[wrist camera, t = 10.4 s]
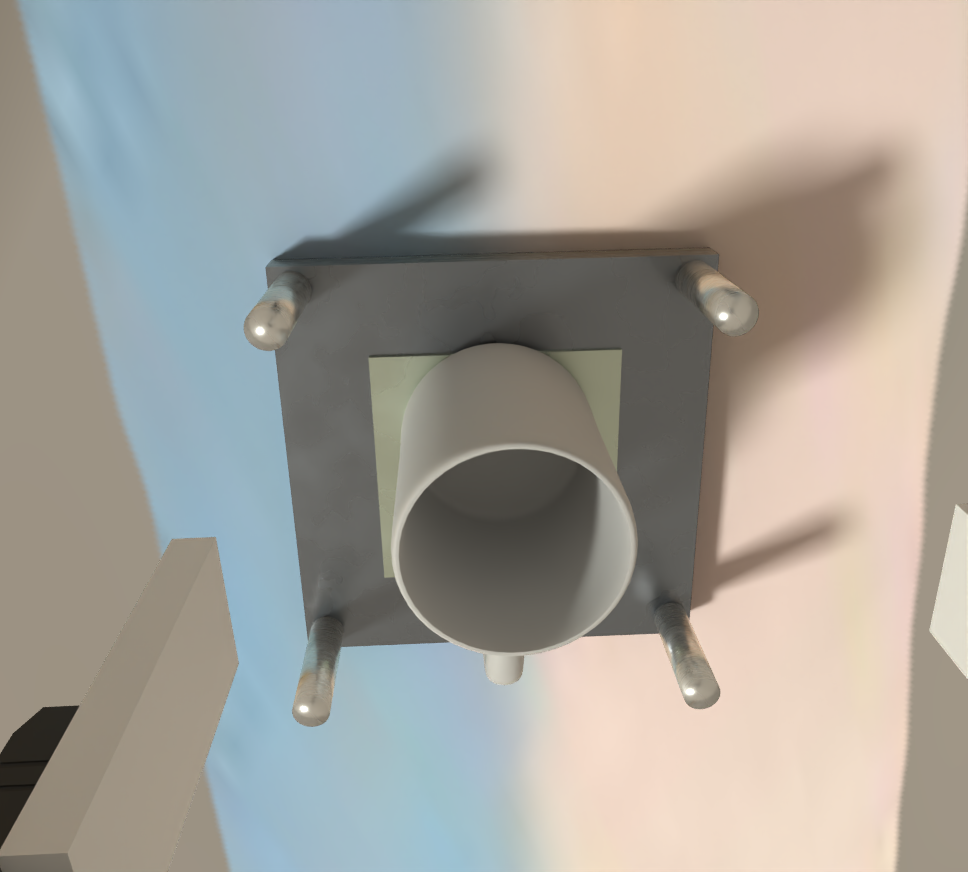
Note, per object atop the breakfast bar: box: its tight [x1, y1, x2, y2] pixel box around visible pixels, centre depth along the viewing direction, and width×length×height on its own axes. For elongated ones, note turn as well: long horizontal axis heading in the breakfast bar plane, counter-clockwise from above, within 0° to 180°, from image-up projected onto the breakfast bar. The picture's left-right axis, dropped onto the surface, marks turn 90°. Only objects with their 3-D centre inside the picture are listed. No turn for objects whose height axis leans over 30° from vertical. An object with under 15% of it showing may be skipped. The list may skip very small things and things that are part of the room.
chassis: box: [244, 248, 759, 727], centre depth 39 cm, size 19×19×8 cm
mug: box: [391, 343, 638, 685], centre depth 36 cm, size 12×8×11 cm
